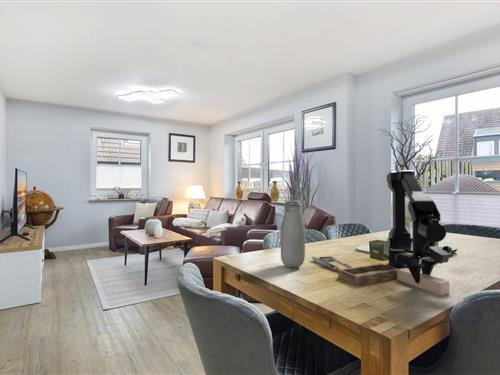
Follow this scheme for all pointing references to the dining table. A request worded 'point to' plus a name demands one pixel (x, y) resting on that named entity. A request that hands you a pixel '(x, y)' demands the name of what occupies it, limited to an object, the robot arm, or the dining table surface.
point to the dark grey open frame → (326, 261)
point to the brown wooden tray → (368, 274)
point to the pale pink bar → (424, 282)
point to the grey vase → (293, 235)
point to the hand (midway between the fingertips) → (421, 282)
